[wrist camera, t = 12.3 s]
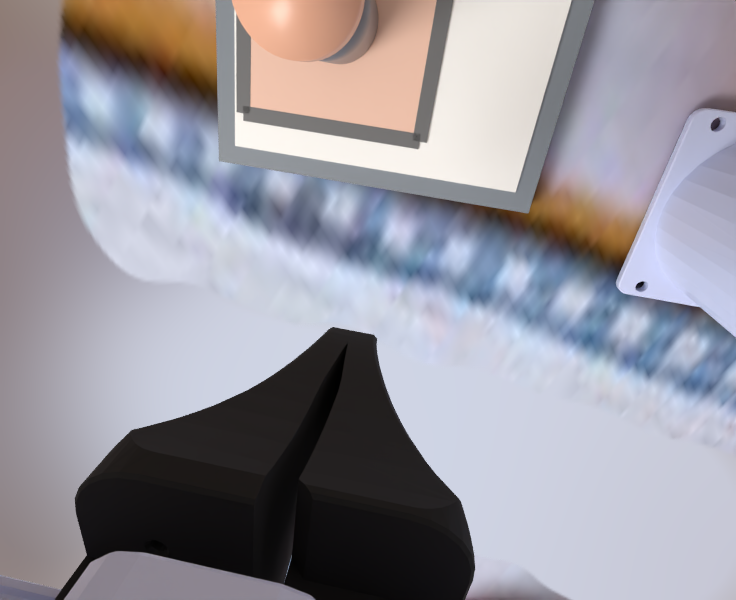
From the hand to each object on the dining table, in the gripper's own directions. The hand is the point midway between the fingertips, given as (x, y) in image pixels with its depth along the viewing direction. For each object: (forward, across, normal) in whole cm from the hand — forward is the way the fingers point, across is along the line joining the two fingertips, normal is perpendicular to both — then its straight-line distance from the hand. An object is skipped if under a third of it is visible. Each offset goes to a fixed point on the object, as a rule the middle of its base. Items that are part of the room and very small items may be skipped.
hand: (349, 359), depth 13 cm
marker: (+9, +3, -9) cm, 13 cm away
